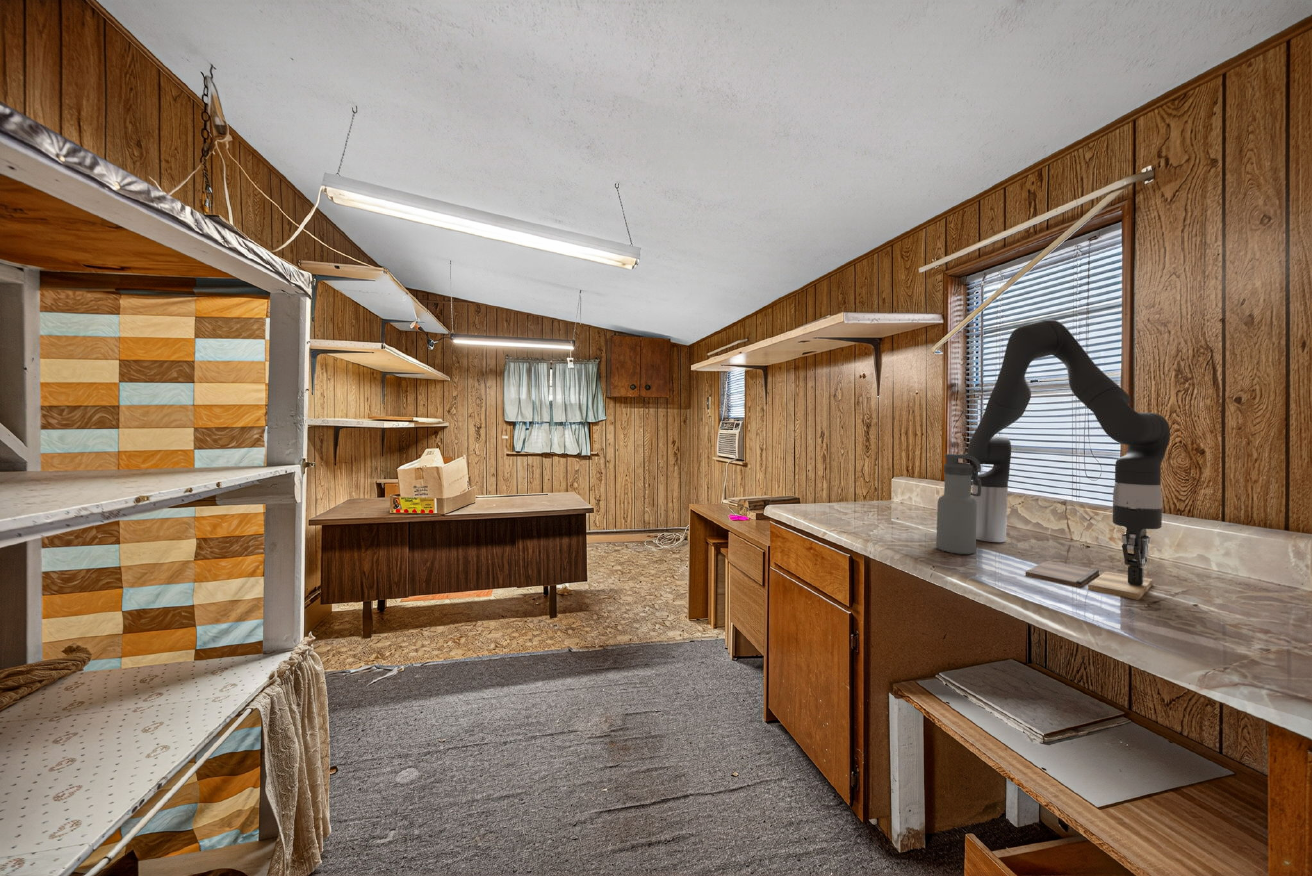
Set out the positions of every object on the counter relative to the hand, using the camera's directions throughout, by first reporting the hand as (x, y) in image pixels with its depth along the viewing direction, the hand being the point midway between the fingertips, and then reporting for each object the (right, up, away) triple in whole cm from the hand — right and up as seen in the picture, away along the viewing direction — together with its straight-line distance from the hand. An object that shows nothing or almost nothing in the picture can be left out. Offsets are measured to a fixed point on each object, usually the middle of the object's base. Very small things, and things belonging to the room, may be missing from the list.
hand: (1135, 584), depth 104 cm
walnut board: (-7, -2, +10) cm, 13 cm away
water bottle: (-17, -1, +36) cm, 39 cm away
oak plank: (-1, -2, +2) cm, 3 cm away
